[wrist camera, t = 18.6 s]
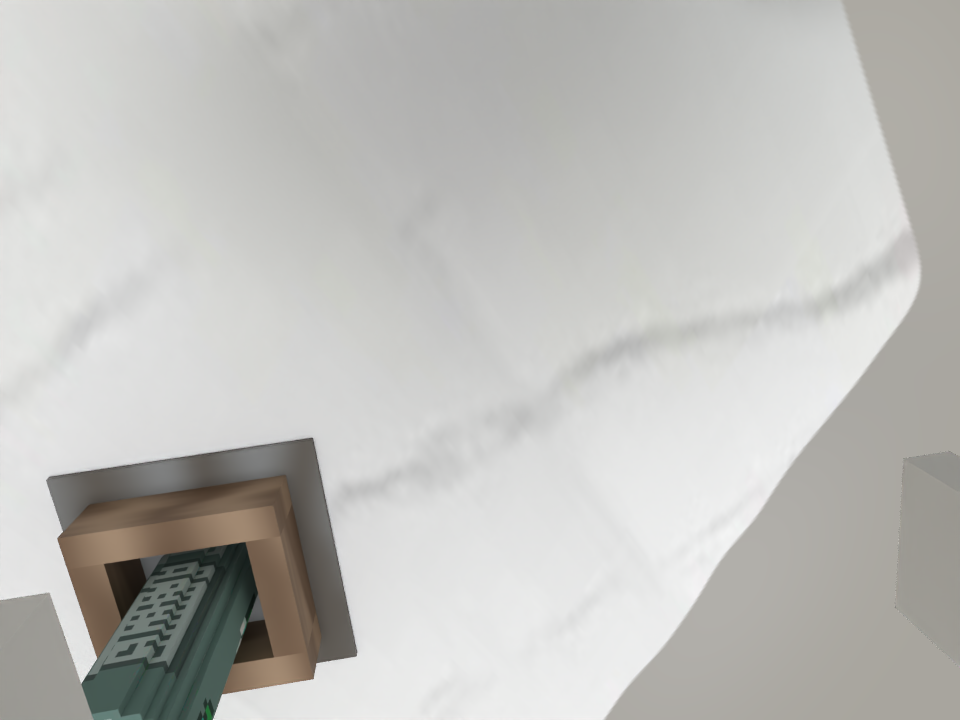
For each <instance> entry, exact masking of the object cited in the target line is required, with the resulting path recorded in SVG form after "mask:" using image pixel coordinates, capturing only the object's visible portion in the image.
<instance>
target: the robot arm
mask: <svg viewBox="0 0 960 720" xmlns="http://www.w3.org/2000/svg"><path fill="white" fill-rule="evenodd" d="M901 493H902V494H901V510H900V528H899V546H898V564H897V581H896V582H897V583H896V599H895V608H896V609H897V610H898V611H899V612H900V613H901V614H902V615H903V616H904V617H906V618H907V619H908V620H909V621H910V622H911V623H912V624H913V625H914V626H915V627H916V628H918V630H920V631H921V632H922V633H923V634H924V635H925V636H926V637H927V638H928V639H929V640H930V641H931V642H932V643H934V644H935V645H936V646H937V647H938V648H939V649H940V650H941V651H942V652H943V653H944V654H945V655H947V656H948V657H949V658H950V659H951V660H952V661H953V662H954V663H955V664H956V665H957V666H959V668H960V456H958V455H956V454H954V453H952V452H950V451H948V452H942V453H936V454H929V455H923V456H916V457H910V458H904V459H903V474H902V492H901ZM0 720H93V717H92V714H91V711H90V708H89V705H88V703H87V700H86V697H85V694H84V691H83V688H82V685H81V682H80V680H79V677H78V674H77V671H76V668H75V665H74V662H73V659H72V657H71V654H70V651H69V648H68V645H67V642H66V639H65V636H64V633H63V631H62V628H61V625H60V622H59V619H58V616H57V613H56V610H55V608H54V605H53V602H52V599H51V596H50V593H45V594H38V595H32V596H26V597H19V598H13V599H7V600H0Z"/></svg>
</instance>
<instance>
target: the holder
mask: <svg viewBox="0 0 960 720" xmlns="http://www.w3.org/2000/svg"><path fill="white" fill-rule="evenodd" d="M46 481H47V484H48V487H49V490H50V493H51V496H52V500H53V503H54V506H55V509H56V512H57V515H58V518H59V521H60V524H61V527H62V530H63V533H62V534H61V535H60V536H59V537H58V538H57V539H58V542H59V545H60V548H61V551H62V554H63V557H64V560H65V563H66V566H67V569H68V572H69V575H70V578H71V581H72V584H73V587H74V590H75V593H76V596H77V599H78V602H79V605H80V608H81V611H82V614H83V617H84V620H85V623H86V626H87V629H88V632H89V635H90V638H91V641H92V644H93V647H94V650H95V653H96V656H97V659H98V657H99V655H100V654H101V652H102V651H103V649H104V648H105V646H106V644H107V643H108V641H109V640H110V638H111V637H112V635H113V633H114V632H115V630H116V629H117V627H118V626H119V624H120V622H121V621H122V619H123V618H124V616H125V615H126V613H127V611H128V610H129V608H130V607H131V605H132V604H133V602H134V600H135V599H136V597H137V596H138V594H139V593H140V591H141V589H142V588H143V586H144V585H145V583H146V581H147V580H148V578H149V577H150V575H151V574H152V572H153V570H154V569H155V567H156V566H157V564H158V563H159V561H160V559H161V558H162V557H163V555H164V554H171V553H177V552H183V551H190V550H196V549H203V548H209V547H216V546H222V545H228V544H235V543H241V542H246V546H247V550H248V554H249V558H250V562H251V566H252V570H253V574H254V578H255V582H256V587H257V591H258V595H257V598H256V601H255V604H254V606H253V609H252V612H251V615H250V618H249V620H248V623H247V626H246V629H245V631H244V634H243V637H242V640H241V643H240V645H239V648H238V651H237V654H236V657H235V659H234V662H233V665H232V668H231V670H230V673H229V676H228V679H227V682H226V684H225V687H224V690H223V693H222V694H227V693H233V692H239V691H245V690H251V689H257V688H263V687H269V686H275V685H281V684H287V683H293V682H299V681H305V680H311V679H314V673H315V668H316V663H320V662H326V661H332V660H338V659H344V658H350V657H356V656H357V650H356V646H355V641H354V636H353V631H352V626H351V621H350V617H349V612H348V607H347V602H346V597H345V592H344V588H343V583H342V578H341V573H340V568H339V563H338V559H337V554H336V549H335V544H334V539H333V534H332V530H331V525H330V520H329V515H328V510H327V505H326V500H325V496H324V491H323V486H322V481H321V476H320V471H319V467H318V462H317V457H316V452H315V447H314V442H313V438H310V439H303V440H297V441H290V442H283V443H276V444H270V445H263V446H256V447H250V448H243V449H236V450H229V451H223V452H216V453H209V454H202V455H196V456H189V457H182V458H175V459H169V460H162V461H155V462H148V463H142V464H135V465H128V466H122V467H115V468H108V469H101V470H95V471H88V472H81V473H74V474H68V475H61V476H54V477H49V478H48V479H47V480H46Z"/></svg>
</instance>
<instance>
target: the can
mask: <svg viewBox="0 0 960 720" xmlns="http://www.w3.org/2000/svg"><path fill="white" fill-rule="evenodd" d="M257 595H258V591H257V587H256V582H255V578H254V574H253V570H252V566H251V562H250V558H249V554H248V550H247V546H246V542H241V543H235V544H228V545H222V546H216V547H209V548H203V549H196V550H190V551H183V552H177V553H171V554H164V555H163V557H162V558H161V559H160V561H159V563H158V564H157V566H156V567H155V569H154V570H153V572H152V574H151V575H150V577H149V578H148V580H147V581H146V583H145V585H144V586H143V588H142V589H141V591H140V593H139V594H138V596H137V597H136V599H135V600H134V602H133V604H132V605H131V607H130V608H129V610H128V611H127V613H126V615H125V616H124V618H123V619H122V621H121V622H120V624H119V626H118V627H117V629H116V630H115V632H114V633H113V635H112V637H111V638H110V640H109V641H108V643H107V644H106V646H105V648H104V649H103V651H102V652H101V654H100V655H99V657H98V659H97V660H96V662H95V663H94V665H93V666H92V668H91V670H90V671H89V673H88V674H87V676H86V678H85V679H84V681H83V682H82V684H81V685H82V688H83V691H84V694H85V697H86V700H87V703H88V705H89V708H90V711H91V714H92V717H93V720H213V718H214V715H215V712H216V709H217V707H218V704H219V701H220V698H221V695H222V693H223V690H224V687H225V684H226V682H227V679H228V676H229V673H230V670H231V668H232V665H233V662H234V659H235V657H236V654H237V651H238V648H239V645H240V643H241V640H242V637H243V634H244V631H245V629H246V626H247V623H248V620H249V618H250V615H251V612H252V609H253V606H254V604H255V601H256V598H257Z"/></svg>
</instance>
